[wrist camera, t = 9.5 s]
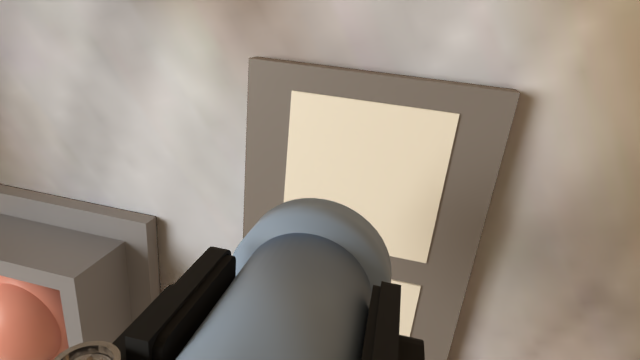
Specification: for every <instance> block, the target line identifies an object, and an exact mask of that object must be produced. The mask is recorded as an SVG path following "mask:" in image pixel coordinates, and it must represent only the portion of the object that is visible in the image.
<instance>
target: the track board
mask: <svg viewBox="0 0 640 360" xmlns="http://www.w3.org/2000/svg"><path fill="white" fill-rule="evenodd" d="M519 96H520V92H518V91H517V90H515V89H508V88H500V87H492V86H484V85H476V84H468V83H460V82H452V81H444V80H437V79H429V78H421V77H413V76H405V75H397V74H389V73H381V72H373V71H365V70H357V69H350V68H342V67H334V66H326V65H318V64H310V63H302V62H294V61H286V60H278V59H271V58H263V57H253V58H249V68H248V98H247V129H246V160H245V191H244V222H243V239H244V237H245V236H246V235H247V234H248V233H249V231H250V230H251V229H252V228H253V227H254V225H255V224H256V223H257V222H258V221H259V220H260V218H261V217H262V216H263V215H264V214H266V213H267V212H268V211H269V210H271V209H272V208H274V207H276V206H277V205H280V204H282V203H284V202H287V201H291V200H294V199H301V198H319V199H326V200H330V201H334V202H337V203H339V204H342V205H345V206H347V207H349V208H350V209H352V210H354V211H356V212H357V213H359V214H360V215H362V216H363V217H364V218H365V219H366V220H367V221H368V222H370V223H371V225H372V226H373V227H374V228H375V229H376V230H377V232H378V233H379V235H380V236H381V237H382V239H383V241H384V243H385V245H386V247H387V250H388V253H389V256H390V261H391V269H392V276H391V283H394V284H398V285H401V303H400V328H399V335H404V336H408V337H413V338H417V339H422V340H423V341H424V353H425V360H447V358H448V354H449V351H450V347H451V343H452V340H453V336H454V333H455V329H456V325H457V322H458V318H459V314H460V311H461V307H462V303H463V300H464V296H465V292H466V289H467V285H468V282H469V278H470V274H471V271H472V267H473V263H474V260H475V256H476V252H477V249H478V245H479V241H480V238H481V234H482V231H483V227H484V223H485V220H486V216H487V212H488V209H489V205H490V201H491V198H492V194H493V191H494V187H495V183H496V180H497V176H498V172H499V169H500V165H501V161H502V158H503V154H504V150H505V147H506V143H507V140H508V136H509V132H510V129H511V125H512V121H513V118H514V114H515V110H516V107H517V103H518V99H519Z"/></svg>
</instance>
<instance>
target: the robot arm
mask: <svg viewBox="0 0 640 360" xmlns="http://www.w3.org/2000/svg"><path fill="white" fill-rule="evenodd" d="M235 277H236V257H235V256H231V252H230V250H227V249H222V248H217V247H210V248H208V249H207V250H206V251H205V252H204V254H203V255H202V256H201V257H200V258H199V259H198V260H197V261H196V262H195V263H194V264H193V265H192V266H191V267H190V268H189V269H188V270H187V271H186V272H185V273H184V274H183V275H182V277H181V278H180V279H179V280H178V281H177V282H176V283H175V284H172V285H169V286H168V287H167V288H166V289H165V290H164V291H163V292H162V293H161V294H160V295H159V296H158V297H157V298H156V299H155V300H154V301H153V302H152V303H151V304H150V305H149V306H148V307H147V308H146V309H145V310H144V311H143V312H142V313H141V314H140V315H139V316H138V317H137V318H136V319H135V320H134V321H133V322H132V323H131V324H130V325H129V327H128V328H127V329H126V330H125V331H124V332H123V333H122V334H121V335H120V336H119V337H118V338H117V339H116V340H115V341H114V342H113V343H110V342H105V341H88V342H84V343H80V344H77V345H75V346H72V347H70V348H68V349H66V350H65V351H63V352H61V353H60V354H59V355H58V356H57V357H56V358H55V359H53V360H175V359H176V358H177V356H178V355H179V354H180V352H181V351H182V350H183V348H184V347H185V346H186V344H187V343H188V341H189V340H190V339H191V337H192V336H193V335H194V333H195V332H196V330H197V329H198V328H199V326H200V325H201V324H202V322H203V321H204V320H205V318H206V317H207V315H208V314H209V313H210V311H211V310H212V309H213V307H214V306H215V305H216V303H217V302H218V300H219V299H220V298H221V296H222V295H223V294H224V292H225V291H226V289H227V288H228V287H229V285H230V284H231V283H232V281H233V280H234V279H235ZM400 303H401V285H398V284H394V283H389V282H384V281H382V282H381V286H377V285H373V288H372V294H371V300H370V306H369V312H368V318H367V325H366V331H365V338H364V344H363V350H362V357H361V360H425V353H424V341H423V340H422V339H417V338H413V337H408V336H404V335H399V328H400Z"/></svg>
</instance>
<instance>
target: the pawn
mask: <svg viewBox="0 0 640 360" xmlns="http://www.w3.org/2000/svg"><path fill="white" fill-rule="evenodd" d="M233 256H235V257H236V277H235V279H234V280H233V281H232V283H231V284H230V285H229V287H228V288H227V289H226V291H225V292H224V294H223V295H222V296H221V298H220V299H219V300H218V302H217V303H216V305H215V306H214V307H213V309H212V310H211V311H210V313H209V314H208V315H207V317H206V318H205V320H204V321H203V322H202V324H201V325H200V326H199V328H198V329H197V330H196V332H195V333H194V335H193V336H192V337H191V339H190V340H189V341H188V343H187V344H186V346H185V347H184V348H183V350H182V351H181V352H180V354H179V355H178V356H177V358H176V359H175V360H361V357H362V350H363V344H364V338H365V331H366V325H367V318H368V312H369V306H370V300H371V294H372V288H373V285H377V286H381V282H382V281H384V282H389V283H391V276H392V269H391V261H390V256H389V253H388V250H387V247H386V245H385V243H384V241H383V239H382V237H381V236H380V235H379V233H378V232H377V230H376V229H375V228H374V227H373V226H372V225H371V223H370V222H368V221H367V220H366V219H365V218H364V217H363V216H362V215H360V214H359V213H357V212H356V211H354V210H352V209H350V208H349V207H347V206H345V205H342V204H339V203H337V202H334V201H330V200H326V199H319V198H301V199H294V200H291V201H287V202H284V203H282V204H280V205H277V206H276V207H274V208H272V209H271V210H269V211H268V212H267V213H266V214H264V215H263V216H262V217H261V218H260V220H259V221H258V222H257V223H256V224H255V225H254V227H253V228H252V229H251V230H250V231H249V233H248V234H247V235H246V236H245V237H244V239H243V240H242V241H241V242H240V244H239V245H238V247H237V248H236V250H235V252H234V254H233Z"/></svg>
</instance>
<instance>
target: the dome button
mask: <svg viewBox="0 0 640 360" xmlns="http://www.w3.org/2000/svg"><path fill="white" fill-rule="evenodd" d="M68 348H69V345H68V339H67V333H66V327H65V321H64V315H63V309H62V303H61V296H60V290H56V289H52V288H48V287H44V286H40V285H36V284H32V283H28V282H24V281H20V280H17V279H13V278H9V277H5V276H1V275H0V360H53V359H55V358H56V357H57V356H58V355H59V354H60V353H61V352H63V351H65V350H66V349H68Z"/></svg>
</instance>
